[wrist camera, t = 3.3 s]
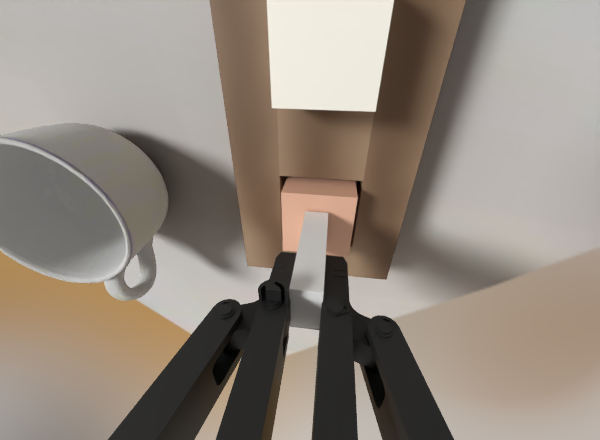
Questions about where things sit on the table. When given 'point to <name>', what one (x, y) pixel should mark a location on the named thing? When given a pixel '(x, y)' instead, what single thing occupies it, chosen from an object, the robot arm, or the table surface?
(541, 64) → the table surface
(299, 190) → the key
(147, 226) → the teacup
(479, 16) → the table surface
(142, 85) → the table surface
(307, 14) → the key mid
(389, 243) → the keypad frame
